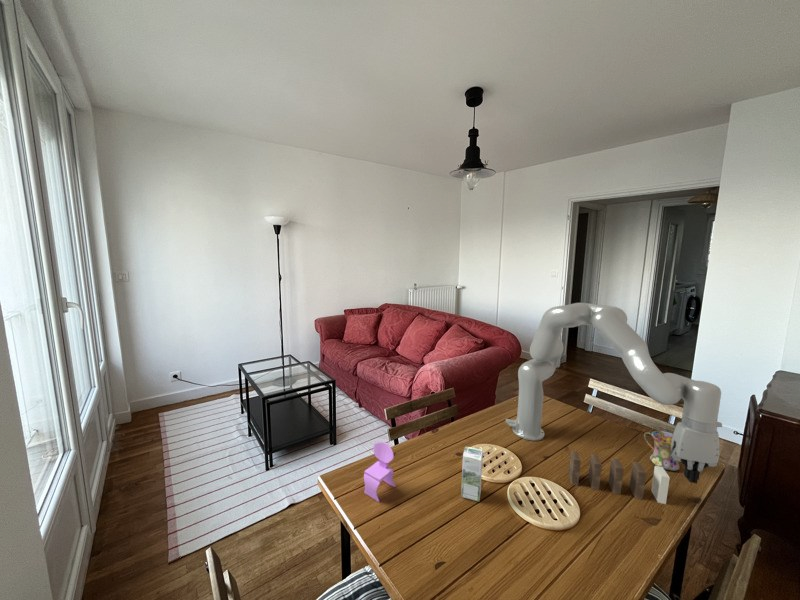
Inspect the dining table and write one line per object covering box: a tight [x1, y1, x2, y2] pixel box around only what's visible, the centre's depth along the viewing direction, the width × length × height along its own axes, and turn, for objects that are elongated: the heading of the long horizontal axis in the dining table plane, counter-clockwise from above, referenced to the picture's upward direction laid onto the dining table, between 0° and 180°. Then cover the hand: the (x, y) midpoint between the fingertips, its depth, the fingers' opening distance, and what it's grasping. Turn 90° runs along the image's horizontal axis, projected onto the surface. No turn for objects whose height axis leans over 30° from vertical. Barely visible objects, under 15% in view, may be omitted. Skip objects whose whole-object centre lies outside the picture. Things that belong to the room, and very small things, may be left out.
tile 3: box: [587, 453, 603, 491], centre depth 107 cm, size 2×5×9 cm, turn 161°
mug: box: [643, 430, 681, 471], centre depth 118 cm, size 12×9×11 cm
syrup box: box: [460, 446, 484, 503], centre depth 102 cm, size 6×6×14 cm
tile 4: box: [568, 450, 582, 487], centre depth 109 cm, size 2×5×9 cm, turn 162°
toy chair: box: [363, 441, 396, 503], centre depth 103 cm, size 8×9×15 cm
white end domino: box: [650, 465, 670, 505], centre depth 101 cm, size 2×5×9 cm, turn 161°
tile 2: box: [608, 457, 624, 496], centre depth 105 cm, size 2×5×9 cm, turn 161°
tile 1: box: [629, 461, 647, 500], centre depth 103 cm, size 2×5×9 cm, turn 161°
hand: (690, 479), depth 98 cm, fingers closed
